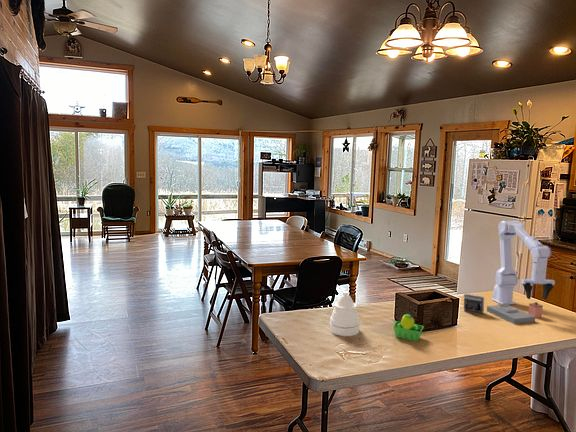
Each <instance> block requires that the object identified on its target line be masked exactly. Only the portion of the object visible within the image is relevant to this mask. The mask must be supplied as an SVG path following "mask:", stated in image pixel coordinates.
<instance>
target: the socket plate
mask: <svg viewBox="0 0 576 432" xmlns="http://www.w3.org/2000/svg"><path fill="white" fill-rule="evenodd" d="M497 306H498V304H496V305H487V306H486V312H488V313H490V314H492V315H494V316H497V317H499V318H500V319H502V320H505V321H507V322H509V323H511V324H513V325H517V324H519V325H520V324H528V323H535V322H536V318H535V316H532V315H530V314H528V313H529V312H525V311H523V310H521V309H518V308H517V309H518V312H508V313H507V312H505V311H502V310H500V309H498V308H497Z"/></svg>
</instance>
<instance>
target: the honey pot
mask: <svg viewBox="0 0 576 432" xmlns="http://www.w3.org/2000/svg"><path fill="white" fill-rule="evenodd" d="M333 306H334V308H333V310H332V313H331V316H330V317H329V331H330V333H333V335H337V336H341V337H352V336H356V335H358V334H359V333H360V318H359V315H358V311H357V308H358V304H357V303H355V302H354V300H353V299H352V297H351V295H350V294H349V291H345V290H343V291H342V295H340V297H339V298H338V299H337V302H335V303H334V305H333Z"/></svg>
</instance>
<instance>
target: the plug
mask: <svg viewBox="0 0 576 432" xmlns="http://www.w3.org/2000/svg"><path fill="white" fill-rule="evenodd" d="M543 307H544V305H542V304H539V303H538V302H536V301H534V302H531V303H528V312H527V313H528V314H530V315H532V316H535V319H540V318H541V319H542V315H543Z"/></svg>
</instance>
